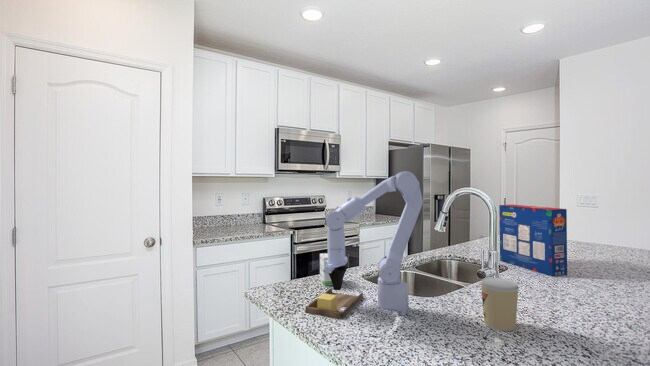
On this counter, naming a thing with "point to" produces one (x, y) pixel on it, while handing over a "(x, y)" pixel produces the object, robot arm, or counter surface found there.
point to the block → (327, 302)
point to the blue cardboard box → (534, 238)
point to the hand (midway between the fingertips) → (337, 289)
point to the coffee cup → (499, 303)
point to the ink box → (324, 276)
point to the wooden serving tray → (342, 301)
